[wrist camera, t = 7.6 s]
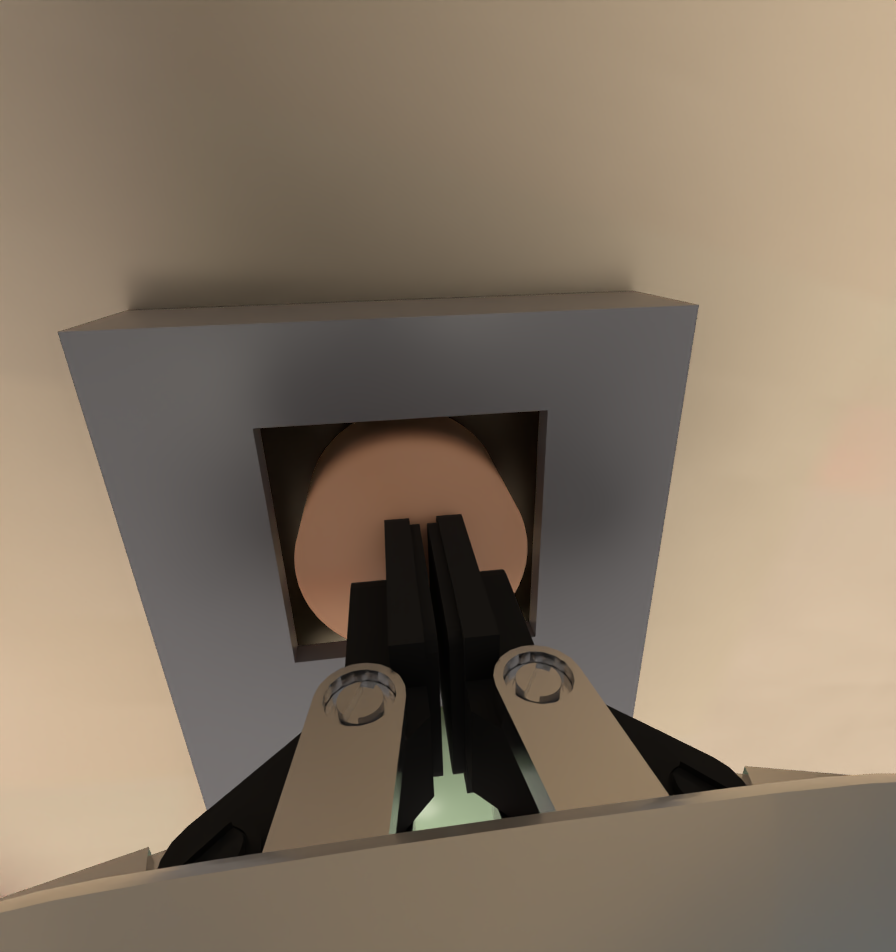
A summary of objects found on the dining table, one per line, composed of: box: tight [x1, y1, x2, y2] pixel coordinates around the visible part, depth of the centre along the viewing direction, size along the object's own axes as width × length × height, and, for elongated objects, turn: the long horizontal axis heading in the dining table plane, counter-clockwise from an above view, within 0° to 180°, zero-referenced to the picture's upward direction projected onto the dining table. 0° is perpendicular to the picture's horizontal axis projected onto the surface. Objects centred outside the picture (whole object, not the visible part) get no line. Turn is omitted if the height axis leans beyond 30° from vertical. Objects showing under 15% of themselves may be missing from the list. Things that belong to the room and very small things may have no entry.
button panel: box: [58, 291, 699, 810], centre depth 17 cm, size 26×12×3 cm, turn 1°
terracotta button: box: [294, 417, 527, 639], centre depth 13 cm, size 5×5×3 cm
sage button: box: [415, 706, 493, 831], centre depth 16 cm, size 5×5×3 cm
